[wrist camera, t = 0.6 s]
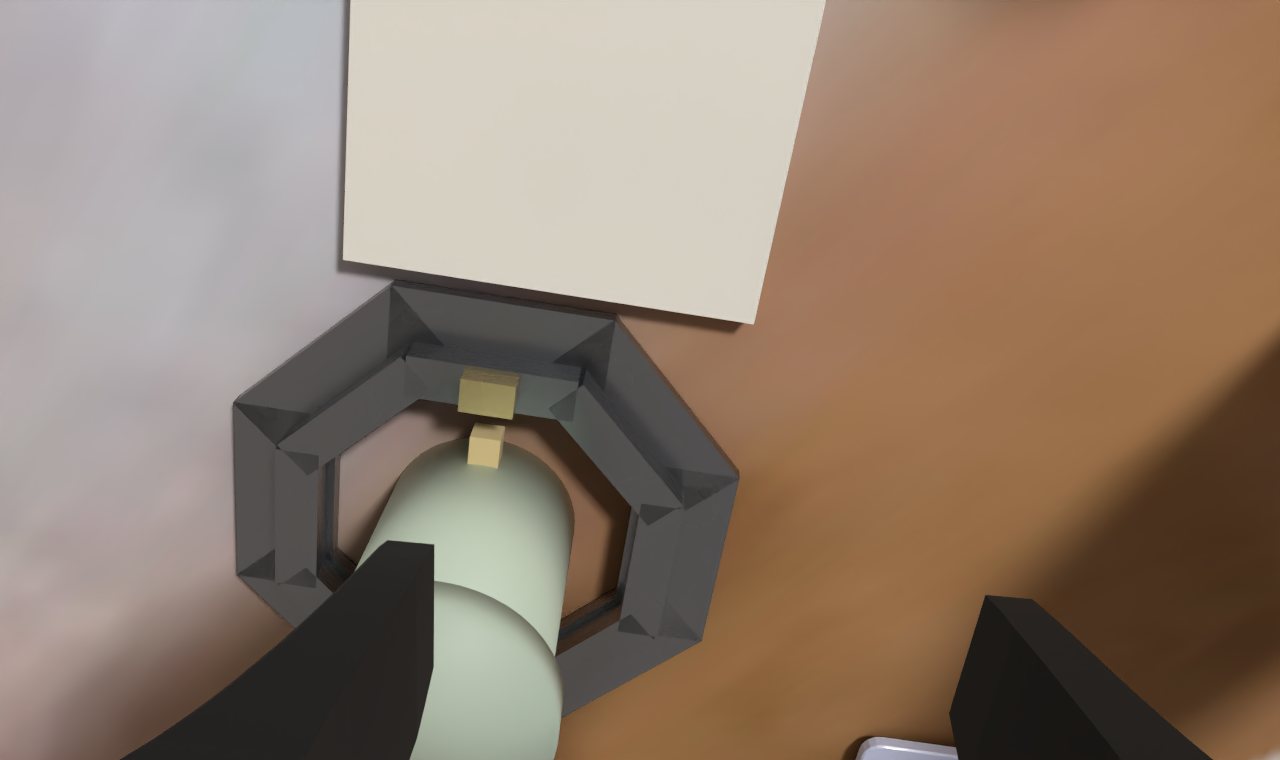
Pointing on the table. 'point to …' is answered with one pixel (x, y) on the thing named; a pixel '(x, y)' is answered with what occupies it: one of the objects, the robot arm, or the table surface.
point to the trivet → (577, 143)
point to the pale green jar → (488, 594)
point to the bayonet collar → (498, 387)
